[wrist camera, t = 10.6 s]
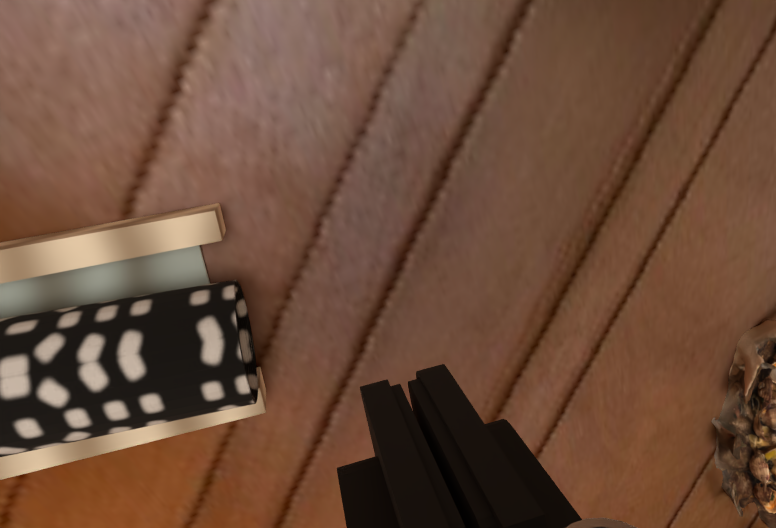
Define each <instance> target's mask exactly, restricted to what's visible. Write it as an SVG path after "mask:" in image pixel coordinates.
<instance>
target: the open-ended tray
mask: <svg viewBox="0 0 776 528" xmlns="http://www.w3.org/2000/svg"><path fill="white" fill-rule="evenodd" d="M225 232H226V227H225V223H224V219H223V215H222V211H221V207H220V203H216V204H211V205H205V206H200V207H194V208H189V209H183V210H178V211H172V212H167V213H161V214H156V215H150V216H144V217H139V218H133V219H128V220H122V221H117V222H111V223H106V224H100V225H95V226H89V227H84V228H78V229H73V230H67V231H62V232H56V233H51V234H45V235H40V236H34V237H29V238H23V239H18V240H12V241H7V242H1V243H0V319H2V318H8V317H14V316H20V315H26V314H32V313H39V312H45V311H51V310H57V309H63V308H69V307H75V306H81V305H87V304H93V303H99V302H105V301H111V300H117V299H123V298H129V297H135V296H141V295H147V294H153V293H159V292H165V291H171V290H177V289H184V288H190V287H196V286H202V285H208V284H210V281H209V277H208V273H207V269H206V266H205V262H204V258H203V254H202V251H201V247H200V245H202V244H207V243H213V242H218V241H222V240H223V237H224V235H225ZM257 380H258V399H257V402H256V404H252V405H247V406H242V407H238V408H233V409H228V410H223V411H219V412H214V413H209V414H204V415H200V416H195V417H190V418H185V419H180V420H176V421H171V422H166V423H161V424H157V425H152V426H147V427H142V428H138V429H133V430H128V431H123V432H119V433H114V434H109V435H104V436H99V437H95V438H90V439H85V440H80V441H76V442H71V443H66V444H61V445H57V446H52V447H47V448H42V449H38V450H33V451H28V452H23V453H18V454H14V455H9V456H4V457H0V480H2V479H6V478H9V477H13V476H17V475H21V474H25V473H29V472H33V471H37V470H41V469H45V468H49V467H53V466H57V465H61V464H65V463H69V462H73V461H77V460H81V459H84V458H88V457H92V456H96V455H100V454H104V453H108V452H112V451H116V450H120V449H124V448H128V447H132V446H136V445H140V444H144V443H148V442H152V441H155V440H159V439H163V438H167V437H171V436H175V435H179V434H183V433H187V432H191V431H195V430H199V429H203V428H207V427H211V426H215V425H219V424H223V423H226V422H230V421H234V420H238V419H242V418H246V417H250V416H254V415H258V414H262V413H266V388H265V384H264V379H263V375H262V371H261V367H257Z"/></svg>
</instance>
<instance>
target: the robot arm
mask: <svg viewBox="0 0 776 528" xmlns="http://www.w3.org/2000/svg"><path fill="white" fill-rule="evenodd" d="M416 378H417V379H416V380H412V381H408V388H409V393H410V398H411V404H412V409H413V411H412V409H411V406H410V404H409V402H408V400H407V398H406V396H405V393H404V391H403V389H402V387H401V385H400V384H397V385H394V386H390V384H389V382H388V380H383V381H380V382H376V383H372V384H369V385H365V386H361V387H360V390H361V395H362V400H363V404H364V408H365V413H366V417H367V421H368V426H369V430H370V435H371V439H372V443H373V448H374V452H375V456H376V457H372V458H369V459H366V460H362V461H359V462H355V463H352V464H349V465H345V466H342V467H338V468H337V473H338V479H339V485H340V491H341V496H342V502H343V508H344V514H345V520H346V526H347V528H636V527H634V526H632V525H629V524H627V523H624V522H622V521H618V520H612V519H607V518H590V519H584V520H582V519H581V518H580V516H579V515H578V514H577V512H576V511H575V510H574V508H573V507H572V506H571V504H570V503H569V502H568V500H567V499H566V498H565V496H564V495H563V494H562V492H561V491H560V490H559V488H558V487H557V486H556V484H555V483H554V482H553V480H552V479H551V478H550V476H549V475H548V474H547V472H546V471H545V470H544V468H543V467H542V466H541V464H540V463H539V462H538V460H537V459H536V458H535V456H534V455H533V454H532V452H531V451H530V450H529V448H528V447H527V446H526V444H525V443H524V442H523V440H522V439H521V438H520V436H519V435H518V434H517V432H516V431H515V430H514V428H513V427H512V426H511V424H510V423H509V422H508V421H507V420H504V419H501V420H498V421H495V422H491V423H488V424H484V423H483V421H482V420H481V418H480V417H479V415H478V414H477V412H476V411H475V409H474V408H473V406H472V405H471V403H470V402H469V400H468V399H467V397H466V396H465V394H464V393H463V391H462V390H461V388H460V387H459V385H458V384H457V382H456V381H455V379H454V378H453V376H452V375H451V373H450V372H449V370H448V369H447V367H446V366H445V365H444V364H442V365H438V366H434V367H431V368H427V369H423V370H420V371H417V372H416Z"/></svg>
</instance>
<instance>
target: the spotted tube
mask: <svg viewBox="0 0 776 528" xmlns="http://www.w3.org/2000/svg"><path fill="white" fill-rule="evenodd" d="M257 399H258V380H257V368H256V360H255V352H254V345H253V339H252V333H251V327H250V322H249V317H248V312H247V307H246V303H245V299H244V296H243V292H242V289H241V286H240V284H239V282H238V281H237V280H232V281H226V282H220V283H214V284H208V285H202V286H196V287H190V288H184V289H177V290H171V291H165V292H159V293H153V294H147V295H141V296H135V297H129V298H123V299H117V300H111V301H105V302H99V303H93V304H87V305H81V306H75V307H69V308H63V309H57V310H51V311H45V312H39V313H32V314H26V315H20V316H14V317H8V318H2V319H0V457H4V456H9V455H14V454H18V453H23V452H28V451H33V450H38V449H42V448H47V447H52V446H57V445H61V444H66V443H71V442H76V441H80V440H85V439H90V438H95V437H99V436H104V435H109V434H114V433H119V432H123V431H128V430H133V429H138V428H142V427H147V426H152V425H157V424H161V423H166V422H171V421H176V420H180V419H185V418H190V417H195V416H200V415H204V414H209V413H214V412H219V411H223V410H228V409H233V408H238V407H242V406H247V405H252V404H256V402H257Z"/></svg>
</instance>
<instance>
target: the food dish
mask: <svg viewBox="0 0 776 528" xmlns="http://www.w3.org/2000/svg"><path fill="white" fill-rule="evenodd" d="M736 347H737V348H736V353H735V355H734V361H733V364H732V367H731V368H730V372H729V379H728V381H729V383H728V392H727V395H726V398H725V402H724V404H723V408H722V411H721V413H720V417H719V419H718V420H715V417H714V418H713V420H712V421H711V422H712V423H713V424H714V426H715V427H716V432H717V438H716V442H717V447H716V452H715V456H714V457H715V464H716V468H719V469H720V470H722V473H723V483H722V488H723V490H724V491H725V492H726V493H727V494H728V496H729V497H730V498H731V500H732V501H733V503H734V505H735V506H736V508H737V510H738V513H739V516H741V517H742V516H743V511H742V510H741V507H743V508H744V507H746V506H747V504H749V503H751V502H755V503H756V505H757V508H758V512H759V515H760V518H761V519H762V520H763V521H764V522H765V523H766V525H767V526H768V527H769V528H776V320H766V321H764V322H763V323H762V324H760V325H759V326H755V327H753V328H751V329H750V330H748V331H747V332H746V333H745V334H744V335H742V337H741V339H740V340H739V342H738V343H737V346H736Z"/></svg>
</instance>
